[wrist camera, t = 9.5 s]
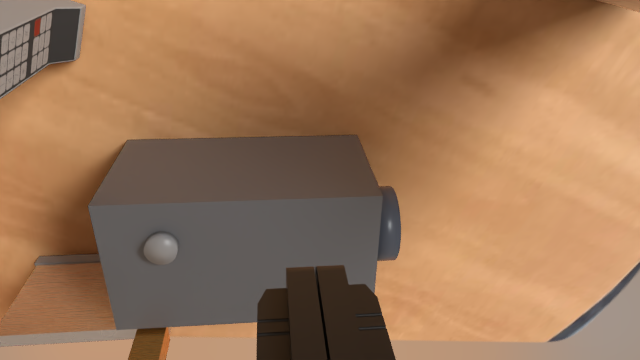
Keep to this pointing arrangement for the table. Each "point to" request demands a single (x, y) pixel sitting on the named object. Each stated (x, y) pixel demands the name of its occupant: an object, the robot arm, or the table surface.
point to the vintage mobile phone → (37, 37)
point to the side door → (73, 313)
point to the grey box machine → (232, 224)
